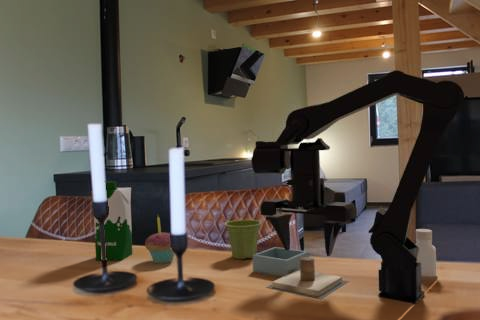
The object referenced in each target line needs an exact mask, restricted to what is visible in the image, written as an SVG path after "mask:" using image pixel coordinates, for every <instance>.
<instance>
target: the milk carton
mask: <svg viewBox="0 0 480 320" xmlns="http://www.w3.org/2000/svg"><path fill="white" fill-rule="evenodd" d="M105 182H106V190H107V198H108V206H109V215H108V217H107V219H106V220H105V222H104V230H105V242H106V258H107V260H106V261H123V260H125V259H126V258H128V257H129V256H131V255H132V254H133V238H132V237H133V235H132V234H133V232H132V230H133V229H132V209H131V201H132V200H131V197H132V195H131V194H132V187H118V186H117V181H116V180H115V181H114V180H112V181H110V180H109V181H106V180H105ZM92 197H93V192H92V191H91V198H92ZM93 221H94V223H93V224H94V247H95V260H96V261H102V260H101V245H100V226H99V222H98V220H97V219H96V218H95V217H94V216H93Z"/></svg>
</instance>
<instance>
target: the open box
mask: <svg viewBox="0 0 480 320" xmlns="http://www.w3.org/2000/svg"><path fill="white" fill-rule="evenodd" d="M309 255H310V252H309V251H308V250H307V251H305V250H299V249H293V248H290V249H289V250H285V248H284V247H278V246H274V247H271V248H268V249H266V250H263V251H260V252H257V253H256V254H254V255H253V258H252V272H253V273H259V274H265V275H269V276H275V277H280V278H282V277H284V276H286V275H288V274H290V273H292V272H294V271H296V270H298V269H299V270H300V259H301V258H310V256H309Z"/></svg>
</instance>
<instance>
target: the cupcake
mask: <svg viewBox="0 0 480 320" xmlns="http://www.w3.org/2000/svg"><path fill="white" fill-rule="evenodd" d="M156 221H157V233H153V234H151V235H149V236H148V237H147V238H146V240H145V243H144V244H145V245H144V247H145V249H146V250H147V251H148V252H149V254H150V256H151V259H152V261H153V263H154V264H155V263H156V264H168V263H171V262H173V261H174V256H175V253H174V254H173V252H172V251H171V249H170V234H171V233H170V232H167V231H166V232H164V231H163V232H162V228H161V219H160V217H159V215H157V218H156Z"/></svg>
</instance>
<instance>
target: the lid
mask: <svg viewBox="0 0 480 320" xmlns="http://www.w3.org/2000/svg"><path fill="white" fill-rule="evenodd" d="M342 280H343V276H340V275H332V274H327V273H321V272H316V271H315V258H313V257H309V258H301V259H300V270H299V269H298V270H296V271H294V272H292V273H290V274H288V275H286V276H284V277H280V278H278V279H276V280H273V281H272V284H273V287H276V288H280V289H285V290H290V291H295V292H300V293H304V294H309V295H314V296H320V295H322V294H323V293H325V292H327V291H328V290H330V289H331V288H333V287H335V286H336V285H338V284H339V283H341V282H342Z"/></svg>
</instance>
